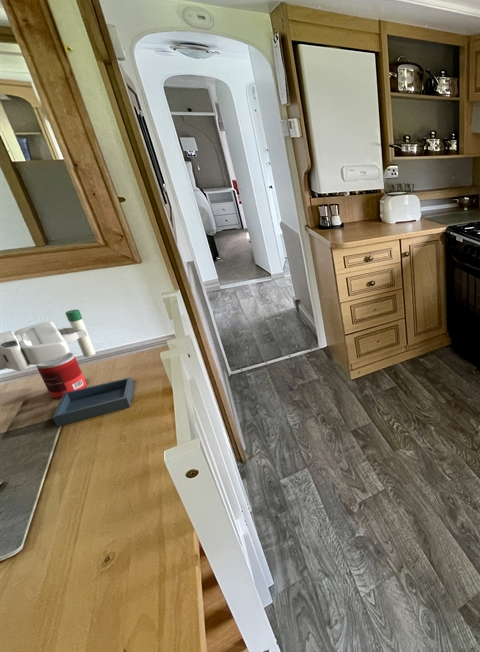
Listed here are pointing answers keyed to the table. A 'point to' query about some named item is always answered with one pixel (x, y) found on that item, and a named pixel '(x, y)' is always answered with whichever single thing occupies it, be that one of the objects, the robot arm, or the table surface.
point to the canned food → (62, 375)
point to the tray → (94, 401)
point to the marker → (78, 324)
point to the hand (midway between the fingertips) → (84, 330)
